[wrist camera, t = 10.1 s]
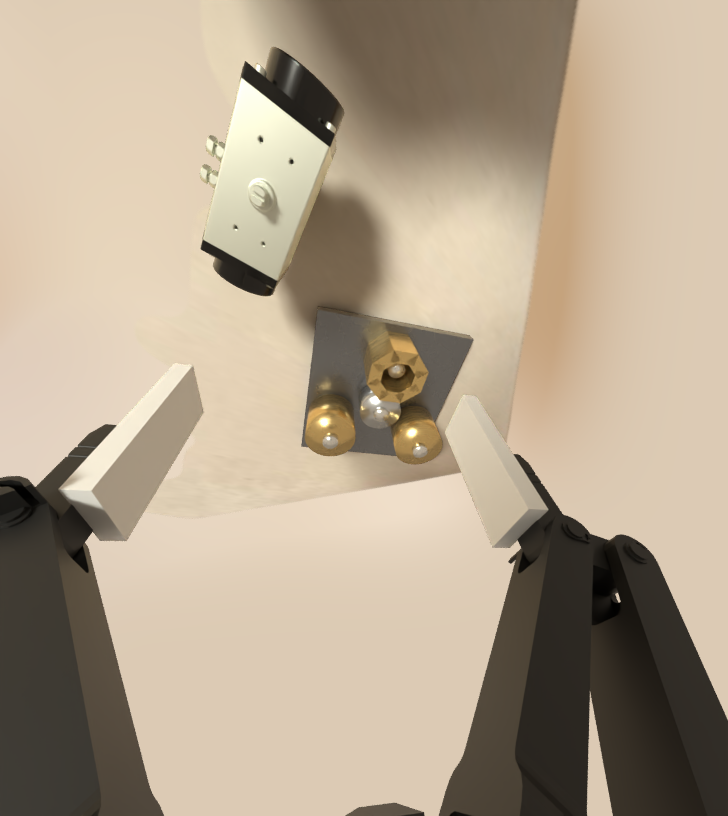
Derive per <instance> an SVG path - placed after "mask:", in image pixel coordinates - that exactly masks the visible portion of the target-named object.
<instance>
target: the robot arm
mask: <svg viewBox="0 0 728 816" xmlns="http://www.w3.org/2000/svg"><path fill="white" fill-rule="evenodd" d="M203 412H204V411H203V407H202V403H201V398H200V394H199V390H198V385H197V381H196V377H195V372H194V368H193V365H186V364H176V363H174V364H173V365H172V366H171V368H170V369H169V370H168V371H167V372H166V373H165V374H164V375H163V376H162V377H161V378H160V380H159V381H158V382H157V383H156V384H155V385H154V386H153V387H152V388H151V389H150V390H149V391H148V392H147V394H146V395H145V396H144V397H143V398H142V399H141V400H140V401H139V402H138V403H137V404H136V405H135V407H134V408H133V409H132V410H131V411H130V412H129V413H128V414H127V415H126V416H125V417H124V419H123V420H122V421H121V422H120V423H119V424H118V425H108V424H106V425H104V426H102V427H100V428H98V429H97V430H95V431H93V432H91V433H90V434H88V435H87V436H86V437H85V438H84V439H83V440H82V441H81V442H80V443H79V444H78V447H75V448H74V450H72V451H71V452H70V453H69V455H68V457H65V459H63V460H62V462H60V464H58V465H57V466H56V467H55V468H54V469H53V470H52V472H50V473H49V474H48V475H47V476H46V477H45V478H44V480H42V481H41V482H40V483H39V484H38V485H37V486H36V487H34V486H33V484H32V483H31V482H30V481H29V480H28V479H26V478H23V477H20V476H11V477H3V478H0V816H164V814H163V812H162V810H161V807H160V805H159V804H158V802H157V800H156V799H155V797H154V796H153V794H152V792H151V789H150V786H149V783H148V779H147V775H146V771H145V768H144V764H143V760H142V756H141V752H140V748H139V744H138V740H137V736H136V732H135V728H134V725H133V721H132V717H131V713H130V709H129V705H128V701H127V697H126V694H125V689H124V685H123V682H122V678H121V674H120V670H119V666H118V662H117V658H116V654H115V650H114V646H113V642H112V638H111V635H110V631H109V627H108V623H107V619H106V615H105V611H104V607H103V604H102V599H101V595H100V592H99V588H98V584H97V580H96V576H95V572H94V568H93V564H92V560H91V556H90V552H89V549H88V546H87V545H86V544H85V541H86V540H87V539H88V537H89V536H90V534H91V533H92V532H93V533H94V534H95V535H96V536H97V537H98V539H99V540H100V541H127V539H128V538H129V536H130V534H131V533H132V531H133V529H134V528H135V526H136V524H137V523H138V521H139V519H140V518H141V516H142V514H143V513H144V511H145V509H146V508H147V506H148V504H149V503H150V501H151V499H152V498H153V496H154V494H155V493H156V491H157V489H158V488H159V486H160V484H161V483H162V481H163V479H164V478H165V476H166V474H167V473H168V471H169V469H170V468H171V466H172V464H173V463H174V461H175V459H176V457H177V456H178V454H179V453H180V451H181V449H182V447H183V446H184V444H185V442H186V441H187V439H188V437H189V436H190V434H191V432H192V431H193V429H194V427H195V426H196V424H197V422H198V421H199V419H200V417H201V416H202V414H203ZM445 434H446V437H447V439H448V442H449V444H450V446H451V449H452V451H453V454H454V456H455V458H456V461H457V463H458V466H459V468H460V470H461V473H462V475H463V478H464V480H465V483H466V485H467V487H468V490H469V492H470V495H471V497H472V499H473V502H474V504H475V506H476V509H477V511H478V514H479V516H480V519H481V521H482V523H483V526H484V528H485V530H486V533H487V535H488V538H489V540H490V543H491V545H492V547H495V548H510V547H511V546H512V545H513V544H514V543H515V542H516V541H517V540H518V542H519V544H520V546H521V549H520V550H519V551H518V552H517V553H516V554H515V555H514V556H513V557H511V558H510V560H509V563H512V562H513V561H515V560H516V561H515V565H514V569H513V572H512V576H511V580H510V584H509V588H508V591H507V595H506V599H505V602H504V606H503V610H502V614H501V617H500V621H499V625H498V628H497V632H496V636H495V640H494V643H493V648H492V651H491V655H490V658H489V662H488V666H487V670H486V673H485V677H484V681H483V685H482V688H481V692H480V696H479V700H478V703H477V707H476V711H475V714H474V718H473V722H472V726H471V730H470V733H469V737H468V741H467V744H466V748H465V751H464V755H463V757H462V759H461V761H460V763H459V764H458V766H457V767H456V768H455V770H454V772H453V774H452V776H451V778H450V780H449V783H448V786H447V789H446V792H445V796H444V799H443V803H442V806H441V810H440V813H439V816H587V780H588V779H587V778H588V776H587V775H588V739H589V702H590V692H591V698H592V703H593V708H594V714H595V720H596V725H597V731H598V736H599V741H600V747H601V752H602V758H603V763H604V769H605V774H606V779H607V785H608V791H609V796H610V802H611V807H612V813H613V816H728V720H727V718H726V715H725V713H724V711H723V709H722V706H721V704H720V702H719V700H718V697H717V695H716V693H715V691H714V688H713V686H712V684H711V682H710V680H709V677H708V675H707V673H706V670H705V668H704V666H703V664H702V662H701V659H700V657H699V655H698V652H697V650H696V648H695V646H694V644H693V641H692V639H691V637H690V635H689V632H688V630H687V628H686V626H685V623H684V621H683V619H682V617H681V615H680V612H679V610H678V608H677V606H676V603H675V601H674V599H673V596H672V594H671V592H670V590H669V587H668V585H667V583H666V581H665V578H664V576H663V574H662V572H661V569H660V567H659V565H658V563H657V561H656V559H655V558H654V556H653V555H652V553H651V552H650V551H649V550H648V549H647V548H646V547H645V546H644V545H642V544H641V543H640V542H638V541H637V540H635V539H633V538H631V537H629V536H626V535H616V536H615V537H614V538H612V539H611V540H607V539H604V538H601V537H598V536H595V535H592V534H590V533H589V532H588V530H587V529H586V528H585V527H584V526H583V525H582V524H581V523H579V522H578V521H576V520H575V519H573V518H571V517H568V516H565V515H563V514H562V512H561V511H560V510H559V508H558V506H557V505H556V504H555V502H554V501H553V499H552V498H551V496H550V495H549V493H548V492H547V490H546V489H545V487H544V486H543V484H541V481H540V480H539V478H538V477H537V476H536V475H535V472H534V471H533V469H532V468H531V466H530V465H529V463H528V462H526V461H525V460H524V459H523V458H522V457H521V456H520V455H518V454H513V453H512V451H511V450H510V448H509V447H508V445H507V444H506V442H505V440H504V439H503V437H502V436H501V434H500V433H499V431H498V429H497V428H496V426H495V425H494V423H493V422H492V420H491V418H490V417H489V415H488V414H487V412H486V410H485V409H484V407H483V406H482V404H481V403H480V401H479V399H478V398H477V396H472V395H462V397H461V399H460V402H459V404H458V406H457V408H456V410H455V412H454V414H453V416H452V418H451V420H450V423H449V425H448V427H447V429H446V431H445ZM616 593H618V594H619V597H620V600H621V602H620V603H618V601H617V599H616V596H615V594H616ZM346 816H424V812H421V811H418V810H415V809H412V808H409V807H406V806H403V805H400V804H397V803H389V804H382V805H374V806H367V807H359V808H357V809H355V810H354V811H353V812H351V813H349V814H347V815H346Z"/></svg>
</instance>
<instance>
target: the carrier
mask: <svg viewBox="0 0 728 816" xmlns="http://www.w3.org/2000/svg"><path fill="white" fill-rule="evenodd" d="M386 331H391V332H396V333H402V334H407V335H409V337H410V339H411V340H412V342H413V344H414V346H415V347H416V349H417V351H418V353H419V355H420V357H421V358H422V360H423V362H424V364H425V366H426V368H427V370H428V372H429V373H428V376H427V378H426V381H425V383H424V386H423V388H422V391H421V392H420V393H419V394H417V395H415V396H413V397H411V398H409V399H408V400H406V401H404V402H402V403H396V402H389V401H381V400H379V399H378V398H377V397H376V395H375V394H374V393H373V392H372V390H371V389H370V388H369V386H368V385H367V381H366V375H365V368H364V358H365V354H366V350H367V346H368V342H370V341H372V340H373V339H375V338H376V337H378V336H380V335H381V334H383V333H384V332H386ZM472 341H473V339H472V338H471V337H470V335H464V334H459V333H454V332H449V331H444V330H439V329H433V328H428V327H423V326H418V325H413V324H408V323H403V322H397V321H392V320H387V319H382V318H377V317H372V316H366V315H361V314H356V313H351V312H346V311H341V310H336V309H330V308H325V307H320V306H318V311H317V320H316V328H315V336H314V345H313V353H312V362H311V370H310V378H309V387H308V395H307V404H306V412H305V420H304V429H303V437H302V447H309V448H310V449H311V450H312V451H314V452H315V453H317V454H320V455H324V456H337V455H341V454H343V453H345V452H347V451H352V452H362V453H372V454H382V455H391V456H397V457H398V458H399V459H400V460H401V461H403V462H405V463H408V464H422V463H425V462H428V461H430V460H432V459H433V458H435V457H436V456H437V455H438V454H439V453H440V451H441V449H442V439H441V437H440V435H439V432H438V430H437V428H436V425H435V420H436V418H437V416H438V414H439V412H440V410H441V408H442V405H443V403H444V401H445V399H446V397H447V395H448V393H449V391H450V388H451V386H452V384H453V382H454V380H455V378H456V376H457V373H458V371H459V369H460V367H461V365H462V363H463V361H464V358H465V356H466V354H467V352H468V350H469V348H470V346H471V344H472ZM386 369H388V373H389V375H390V376H391V377H393V378H399V377H401V376H403V375H404V373H405V367H404V364H399V363H395V364H393V365H391V366H390V367H388V368H386Z"/></svg>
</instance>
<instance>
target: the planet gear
mask: <svg viewBox="0 0 728 816" xmlns="http://www.w3.org/2000/svg"><path fill="white" fill-rule="evenodd" d="M395 363H399V364H404V367H405V373H404V375H403V376H401V377H399V378H393V377H391V376H390V375H389V373H388V369H386V368H388V367H390V366H391V365H393V364H395ZM364 368H365V375H366V381H367V385H368V386H369V388H370V389H371V390H372V392H373V393H374V394H375V395H376V397H377V398H378V399H379V400H381V401H389V402H396V403H402V402H404V401H406V400H408V399H409V398H411V397H413V396H415V395H417V394H419V393H420V392H421V391H422V388H423V386H424V383H425V381H426V378H427V376H428V373H429V372H428V370H427V368H426V366H425V364H424V362H423V360H422V358H421V357H420V355H419V353H418V351H417V349H416V347H415V346H414V344H413V342H412V340H411V339H410V337H409V335H407V334H402V333H396V332H391V331H386V332H384V333H383V334H381V335H380V336H378V337H376V338H375V339H373V340H372V341H370V342H368V346H367V350H366V354H365V358H364Z"/></svg>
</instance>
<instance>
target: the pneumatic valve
mask: <svg viewBox="0 0 728 816" xmlns="http://www.w3.org/2000/svg"><path fill="white" fill-rule="evenodd" d="M343 116H344V110H343V108H342V106H341V104H340V103H339V102H338V100H337V99H336V98H335V97H334V95H333V94H332V93H331V92H330V91H329V90H328V89H327V88H326V87H325V86H324V85H323V84H322V83H321V82H320V81H319V80H318V79H317V78H316V77H315V76H314V75H313V74H312V73H311V72H310V71H309V70H308V69H306V68H305V67H304V66H303V65H302V64H300V63H299V62H298V61H297V60H295V59H294V58H293V57H291V56H290V55H289V54H287V53H286V52H284V51H282V50H281V49H279V48H276V47H272V48H271V49H270V53H269V57H268V61H267V64H266V68H265V69H264V68H263V67H262V66H260V65H259V64H258V63H256V64H255V67H254V68H253V67H252V66H251V65H250V64H248V63H247V62H246V61H245V63H244V66H243V69H242V73H241V78H240V82H239V86H238V90H237V95H236V99H235V103H234V107H233V112H232V116H231V120H230V124H229V129H228V133H227V137H226V141H225V144H224V143H223V142H219V143H218V140H217V138H216V137H214V136H211V135H210V136H209V137H208V139H207V142H206V151H207V152H208V153H209V154H210V155H211V156H214V155H216V158H217V159H218V160H219V161H220V167H219V171H218V172H217V171H216V170H215V171H214V170H213V171H212V170H211V167H210V166H208V165H205V164H204V165H203V166H202V168H201V171H200V178H201V180H202V181H203V182H205V183H208V182H209V184H210V185H211V186H212V187H213V188H214V192H213V196H212V201H211V205H210V209H209V213H208V218H207V222H206V226H205V230H204V235H203V241H202V245H201V250H203V251H205V252H207V253H208V254H209V255H211V256H213V257H215V260H214V263H213V267H214V269H215V271H216V272H217V273H218V274H219V275H220V276H221V277H222V278H224V279H225V280H226V281H228V282H229V283H231V284H233V285H234V286H236V287H238V288H240V289H242V290H245V291H247V292H250V293H253V294H256V295H260V296H271V295H272V294H273V293H274V291H275V288H276V286H277V285H278V283H279V282H280V280H281V279H282V278H283V276H284V275H285V273H286V272H287V270H288V268H289V265H290V263H291V260H292V258H293V255H294V253H295V251H296V248H297V246H298V243H299V241H300V238H301V236H302V233H303V231H304V228H305V226H306V223H307V221H308V218H309V216H310V213H311V211H312V208H313V206H314V204H315V201H316V199H317V196H318V194H319V191H320V189H321V186H322V184H323V181H324V179H325V176H326V174H327V171H328V169H329V166H330V164H331V161H332V159H333V157H334V154H335V152H336V137H335V136H336V134H337V131H338V129H339V126H340V124H341V121H342V118H343Z"/></svg>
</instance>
